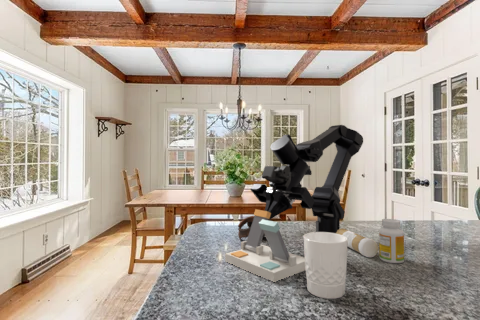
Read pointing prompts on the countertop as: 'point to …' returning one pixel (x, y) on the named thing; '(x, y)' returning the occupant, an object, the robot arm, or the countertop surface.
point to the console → (265, 262)
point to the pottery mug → (245, 232)
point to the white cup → (325, 264)
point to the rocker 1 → (256, 230)
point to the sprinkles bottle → (359, 243)
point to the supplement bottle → (391, 241)
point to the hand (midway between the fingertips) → (265, 219)
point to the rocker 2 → (275, 240)
